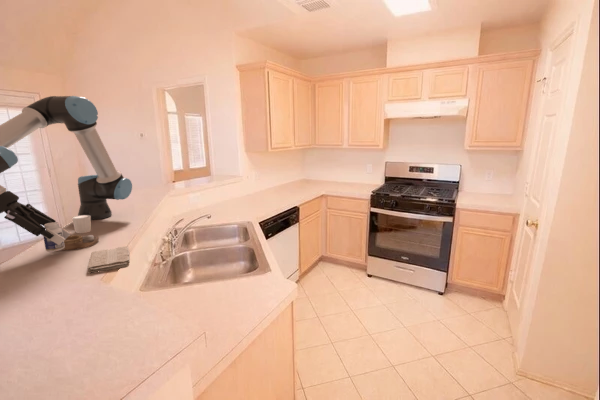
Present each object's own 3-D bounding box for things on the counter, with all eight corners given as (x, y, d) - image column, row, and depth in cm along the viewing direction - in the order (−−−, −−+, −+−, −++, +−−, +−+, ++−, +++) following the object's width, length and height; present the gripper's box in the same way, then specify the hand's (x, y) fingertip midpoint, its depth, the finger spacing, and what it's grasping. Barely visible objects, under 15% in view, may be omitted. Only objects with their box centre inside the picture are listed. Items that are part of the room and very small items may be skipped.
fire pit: (94, 236, 125) (93, 229, 125) (102, 244, 116) (101, 236, 115) (52, 243, 115) (51, 236, 115) (57, 253, 106) (56, 244, 105)
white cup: (82, 234, 128) (80, 218, 127) (69, 232, 129) (67, 217, 128) (96, 229, 134) (94, 215, 133) (83, 228, 136) (82, 214, 134)
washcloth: (87, 276, 89) (86, 267, 89) (90, 257, 104) (89, 249, 103) (131, 268, 96) (130, 259, 95) (128, 251, 111) (128, 243, 110)
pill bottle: (48, 247, 105) (44, 222, 103) (66, 245, 108) (62, 220, 106) (43, 253, 101) (39, 226, 99) (62, 250, 103) (59, 224, 101)
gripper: (3, 200, 103) (66, 239, 113) (-30, 213, 86) (47, 256, 96) (19, 185, 104) (80, 224, 114) (-10, 195, 87) (64, 239, 97)
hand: (65, 239), depth 105 cm, fingers closed on pill bottle, 5 cm apart
